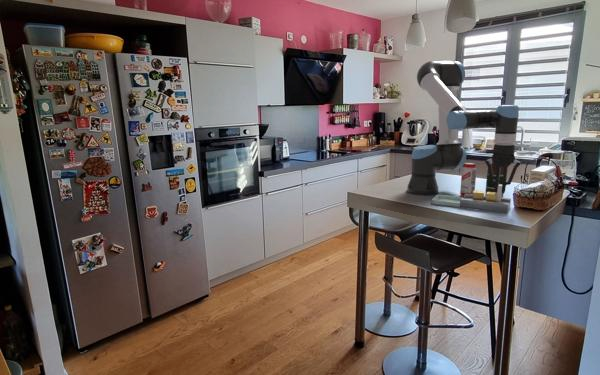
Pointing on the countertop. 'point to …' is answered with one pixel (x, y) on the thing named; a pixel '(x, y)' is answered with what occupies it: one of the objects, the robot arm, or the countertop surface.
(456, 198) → the tray
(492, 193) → the chip front
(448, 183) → the countertop surface
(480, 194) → the chip back
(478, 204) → the slot board
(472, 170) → the white red canister
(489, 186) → the beer bottle
